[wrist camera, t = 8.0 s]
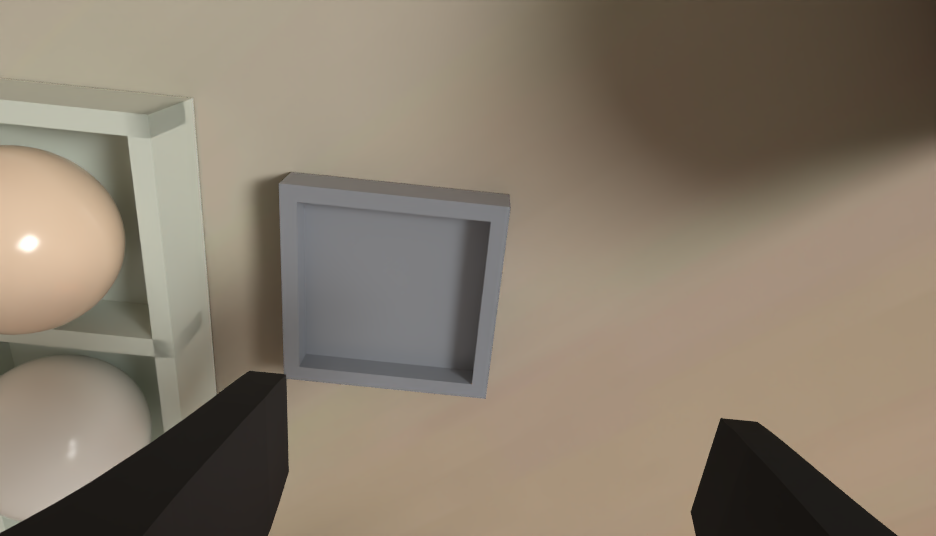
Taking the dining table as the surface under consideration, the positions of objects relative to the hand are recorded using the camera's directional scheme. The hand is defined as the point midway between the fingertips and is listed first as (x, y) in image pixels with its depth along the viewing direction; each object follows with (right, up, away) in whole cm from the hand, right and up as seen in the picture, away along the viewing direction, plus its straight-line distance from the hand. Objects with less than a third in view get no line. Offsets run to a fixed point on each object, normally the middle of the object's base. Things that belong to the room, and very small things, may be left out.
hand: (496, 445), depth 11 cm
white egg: (-13, -1, +11) cm, 17 cm away
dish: (-3, +3, +10) cm, 11 cm away
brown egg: (-12, +5, +9) cm, 16 cm away
